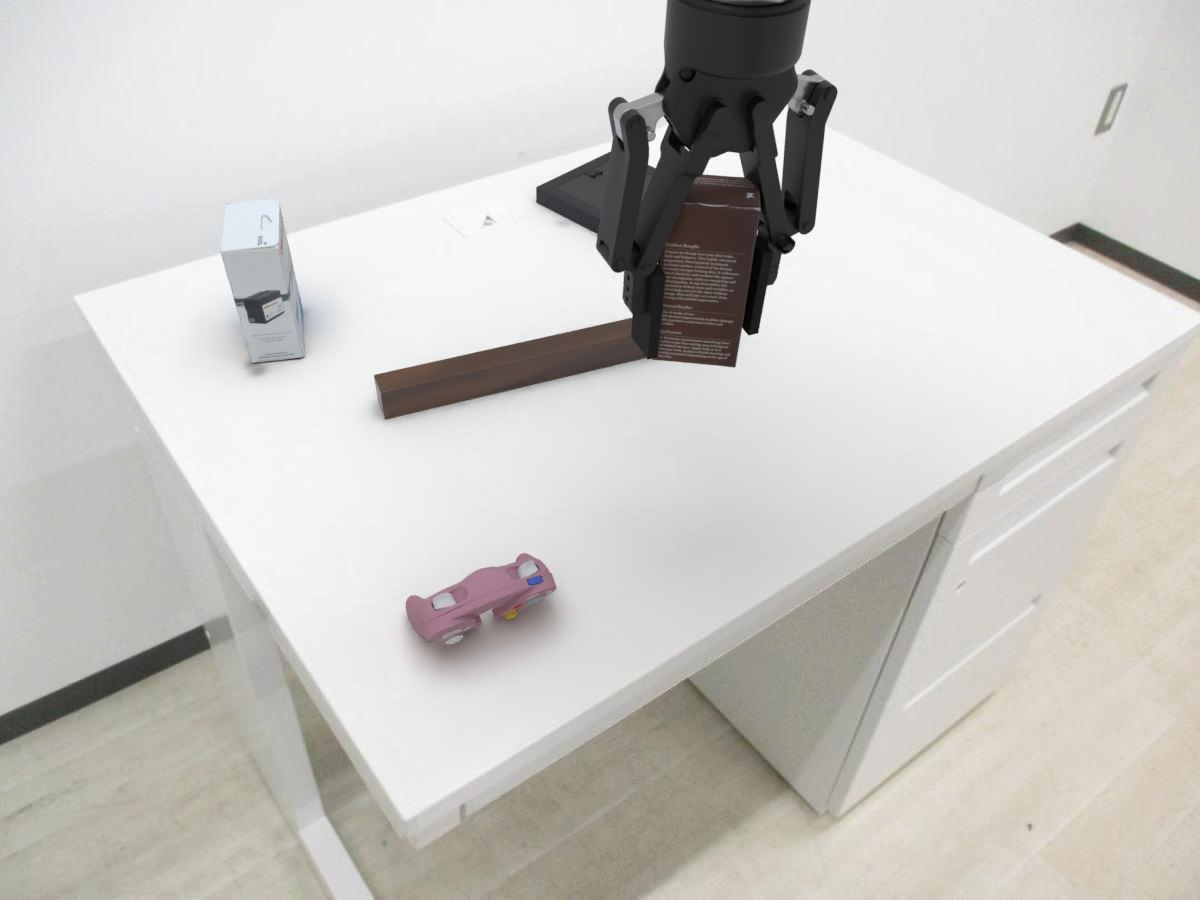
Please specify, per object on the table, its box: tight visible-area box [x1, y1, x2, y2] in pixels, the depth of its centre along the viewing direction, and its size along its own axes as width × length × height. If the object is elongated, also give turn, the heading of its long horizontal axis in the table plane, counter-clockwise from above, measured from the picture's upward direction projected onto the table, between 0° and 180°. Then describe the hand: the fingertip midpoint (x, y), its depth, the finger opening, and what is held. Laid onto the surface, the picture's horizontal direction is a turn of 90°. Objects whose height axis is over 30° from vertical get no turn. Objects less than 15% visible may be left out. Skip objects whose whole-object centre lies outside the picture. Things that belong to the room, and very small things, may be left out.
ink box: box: [219, 198, 306, 363], centre depth 85 cm, size 8×5×12 cm, turn 13°
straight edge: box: [373, 317, 647, 420], centre depth 85 cm, size 2×33×3 cm, turn 113°
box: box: [651, 173, 761, 368], centre depth 62 cm, size 6×4×12 cm
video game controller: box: [405, 552, 558, 645], centre depth 64 cm, size 10×5×7 cm, turn 118°
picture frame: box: [535, 150, 656, 235], centre depth 107 cm, size 13×2×18 cm
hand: (695, 334), depth 65 cm, fingers closed on box, 7 cm apart
